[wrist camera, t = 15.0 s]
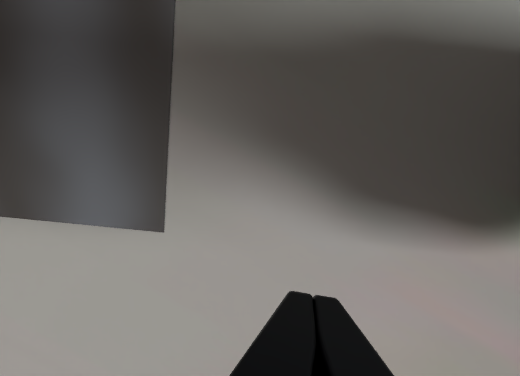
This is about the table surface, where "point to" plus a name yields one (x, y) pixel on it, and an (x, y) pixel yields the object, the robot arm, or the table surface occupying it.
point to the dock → (85, 111)
